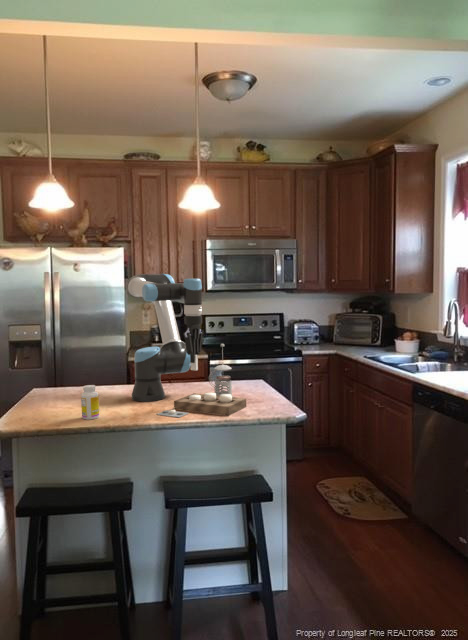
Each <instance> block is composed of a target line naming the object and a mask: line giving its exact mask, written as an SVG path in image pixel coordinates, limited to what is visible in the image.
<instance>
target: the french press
mask: <svg viewBox="0 0 468 640" xmlns="http://www.w3.org/2000/svg"><path fill="white" fill-rule="evenodd" d="M223 347H225V344H224V343H220V348H222V350H221V354H222V360H224V352H223V351H224V348H223ZM231 370H232V367H230V365H227V364H224V363H222V364H220V365H216V366H215V367H214V370H212V371H211V372H210V373H209V376H208V378H209V379H208V382H209V385H211V386H212V387H213V388H214V393H216V396H220V395H222V394H231V395H232V397H234V396H233V394H232V393H233V389H232V387H233V386H232V379H231V376H230V375H224V374H222V375H216V374H217V371H221V372H224V371H231ZM212 374H214V375H216V376H215V380H214V383H213V382H212V377H211V376H212Z"/></svg>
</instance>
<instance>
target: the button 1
mask: <svg viewBox="0 0 468 640" xmlns="http://www.w3.org/2000/svg"><path fill="white" fill-rule="evenodd" d="M189 395H190V396H189V399H190V400H199V399H201V395H191V394H189Z"/></svg>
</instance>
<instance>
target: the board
mask: <svg viewBox="0 0 468 640" xmlns="http://www.w3.org/2000/svg"><path fill="white" fill-rule="evenodd" d="M204 394H205V393H195V392H194V393H191V394H188V395H185V396H183V397H181V398H178V399H175V400H173V410H177V411H178V410H179V411H186V412H193V413H201V414H202V413H203V414H211V415H220V416H228V417H230V416H232V415H233V414H235V413H237V412H239V411H241V410H243V409H245V408H247V398H246V397H245V398H244V397H236V396H233V397H232V402H231V403H229V404H228V403H220V396H216V401H214V402H209V401H204ZM190 395H201V399H199V400H190V399H189V396H190Z"/></svg>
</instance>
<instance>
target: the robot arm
mask: <svg viewBox="0 0 468 640" xmlns="http://www.w3.org/2000/svg"><path fill="white" fill-rule="evenodd" d="M202 289H203V286H202V280H201V279H200V278H185V279H183V282H178V283H177V282H176V281H175V280H174V278H173V276H171V275H170V274H167V273H166V274H165V273H159V274H158V273H154V274H153V273H141V274H140V273H139V274H135V275H134V276H132V277H130V278H129V279H128V280H127V283H126V290H127V293H128V294H129V295H131V296H132V297H135V298H142V299H143V301H145V302H151V303H152V304H154V308H155V313H156V318H157V321H158V327H159V331H160V336H161V341H162V345H161V346H147V347H142V348H139V349H137V350H136V351H135V353H134V357H133V358H134V360H133V362H134V379H135V382H134V384H133V389H132V393H131V400H132V401H135V402H155V401H156V402H157V401H161V400H163V399H165V398H166V393H165V389H164V387H163V384H162V381H161V380H162V379H161V376H162V375H168V374H181V373H186V372H188V371H189V370H190V371H198V370H199V364H198V363H199V359H198V358H199V356H200V355H201V352H202V343H203V334H204V329H201V325H202V324H203V316H202V314H203V307H202V304H203V297H202V296H203V294H202V291H203V290H202ZM174 301H183V311H184V312H183V313H184V315H185V316H184V317H183V319H184V325H186V331H185V332H183V333H182V335H183V338H184V341H182V340H181V336H180V332H179V328H178V324H177V320H176V314H175V311H174V306H173V302H174Z"/></svg>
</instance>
